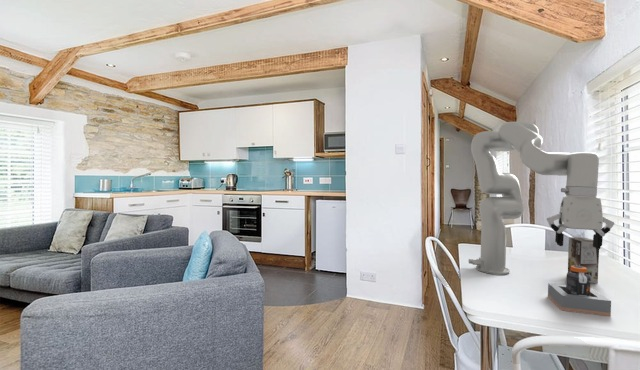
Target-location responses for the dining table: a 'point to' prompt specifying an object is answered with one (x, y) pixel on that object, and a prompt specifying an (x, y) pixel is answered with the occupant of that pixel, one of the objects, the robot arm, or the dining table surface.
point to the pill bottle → (578, 281)
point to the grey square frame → (579, 301)
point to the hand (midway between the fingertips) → (577, 246)
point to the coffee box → (584, 256)
